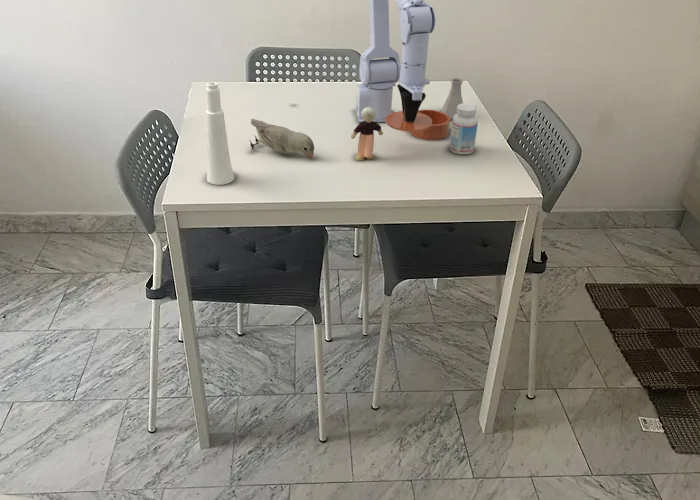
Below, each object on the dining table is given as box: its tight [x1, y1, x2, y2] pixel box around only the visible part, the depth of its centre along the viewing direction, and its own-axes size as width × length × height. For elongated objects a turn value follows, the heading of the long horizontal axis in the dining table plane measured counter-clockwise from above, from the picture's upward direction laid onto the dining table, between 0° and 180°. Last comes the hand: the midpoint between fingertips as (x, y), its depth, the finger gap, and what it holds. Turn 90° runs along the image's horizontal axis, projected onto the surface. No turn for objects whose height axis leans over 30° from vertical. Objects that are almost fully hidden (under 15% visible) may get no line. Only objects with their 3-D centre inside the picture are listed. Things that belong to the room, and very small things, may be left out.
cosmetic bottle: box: [205, 81, 235, 186], centre depth 142 cm, size 6×6×22 cm
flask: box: [440, 77, 464, 121], centre depth 179 cm, size 7×7×10 cm
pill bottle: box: [449, 102, 479, 155], centre depth 161 cm, size 6×6×11 cm
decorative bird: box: [249, 118, 315, 159], centre depth 158 cm, size 5×16×8 cm, turn 72°
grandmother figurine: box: [350, 107, 384, 161], centre depth 156 cm, size 8×4×13 cm, turn 117°
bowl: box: [409, 109, 451, 141], centre depth 172 cm, size 10×10×4 cm
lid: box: [384, 110, 432, 133], centre depth 158 cm, size 11×11×5 cm
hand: (408, 117), depth 158 cm, fingers closed on lid, 2 cm apart
